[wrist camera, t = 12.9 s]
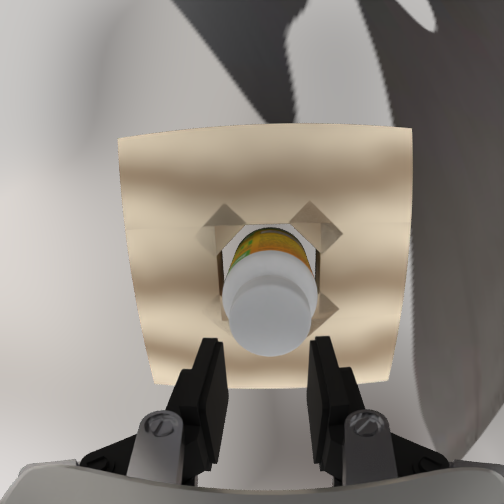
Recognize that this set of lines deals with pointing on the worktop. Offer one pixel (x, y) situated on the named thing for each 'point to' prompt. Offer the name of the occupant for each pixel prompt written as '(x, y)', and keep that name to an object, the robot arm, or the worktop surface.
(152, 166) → the plate
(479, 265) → the worktop surface
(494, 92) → the worktop surface
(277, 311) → the supplement bottle
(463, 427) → the worktop surface
